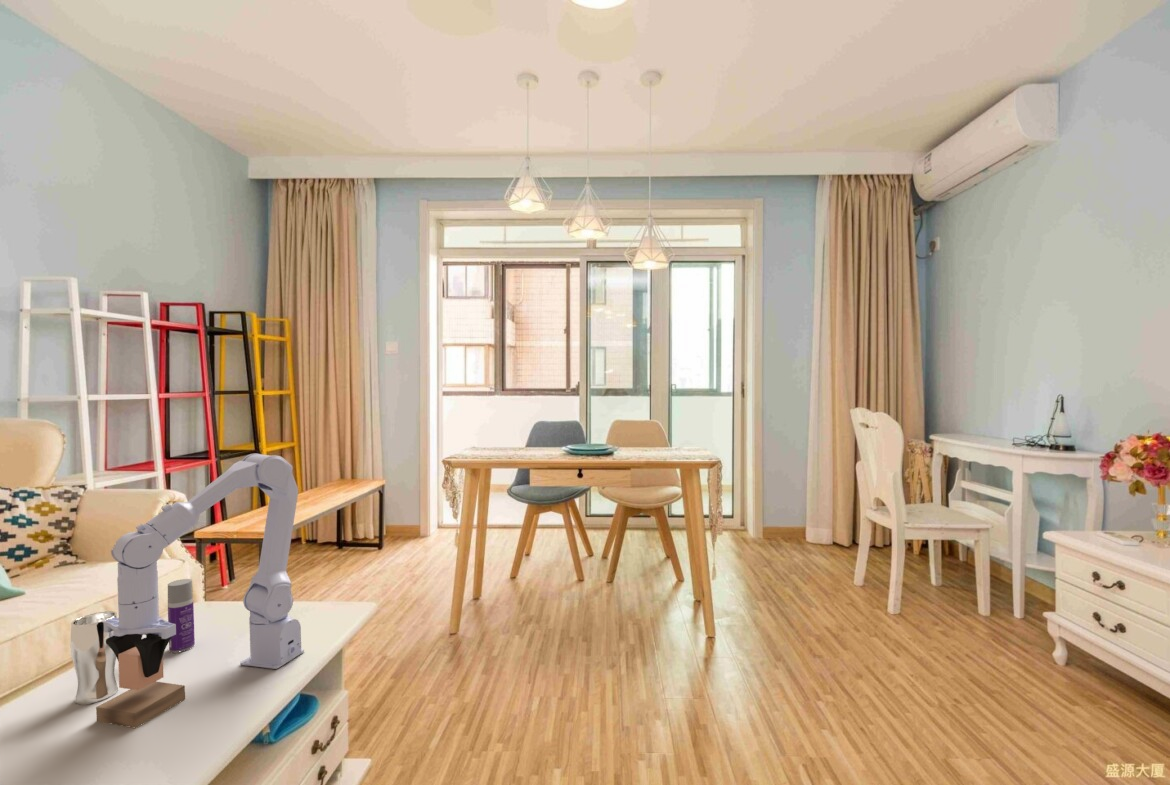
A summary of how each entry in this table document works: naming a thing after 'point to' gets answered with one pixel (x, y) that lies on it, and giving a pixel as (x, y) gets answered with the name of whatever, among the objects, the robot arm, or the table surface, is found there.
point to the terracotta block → (135, 671)
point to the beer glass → (93, 658)
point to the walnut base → (140, 704)
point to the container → (181, 614)
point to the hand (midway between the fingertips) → (140, 673)
